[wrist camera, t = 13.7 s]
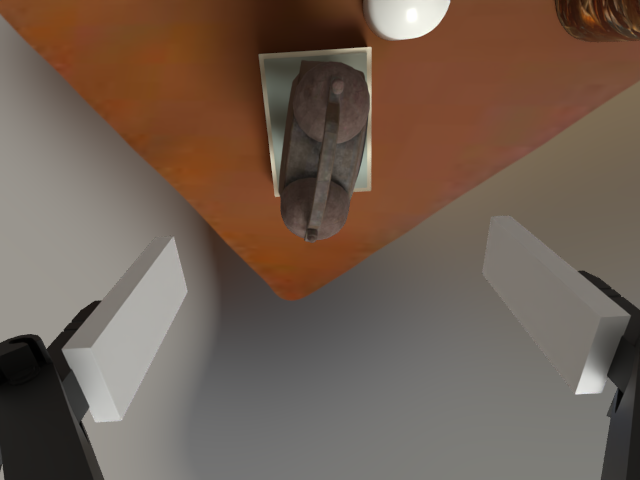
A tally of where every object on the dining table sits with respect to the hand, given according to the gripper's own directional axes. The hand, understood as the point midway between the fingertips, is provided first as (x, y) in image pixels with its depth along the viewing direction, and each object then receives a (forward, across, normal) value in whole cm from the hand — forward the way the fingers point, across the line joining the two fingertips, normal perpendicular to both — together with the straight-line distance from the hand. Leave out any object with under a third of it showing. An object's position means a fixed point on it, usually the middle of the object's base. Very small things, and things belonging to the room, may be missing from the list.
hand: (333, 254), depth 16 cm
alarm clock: (+31, 0, 0) cm, 31 cm away
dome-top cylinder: (+34, +9, +12) cm, 37 cm away
